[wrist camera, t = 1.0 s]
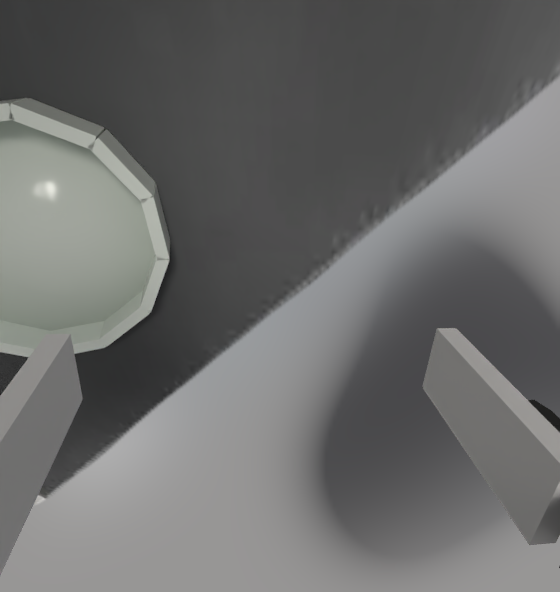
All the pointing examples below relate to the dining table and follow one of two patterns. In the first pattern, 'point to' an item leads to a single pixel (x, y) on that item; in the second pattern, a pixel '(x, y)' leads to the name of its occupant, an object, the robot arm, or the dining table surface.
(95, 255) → the bowl
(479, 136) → the dining table surface
